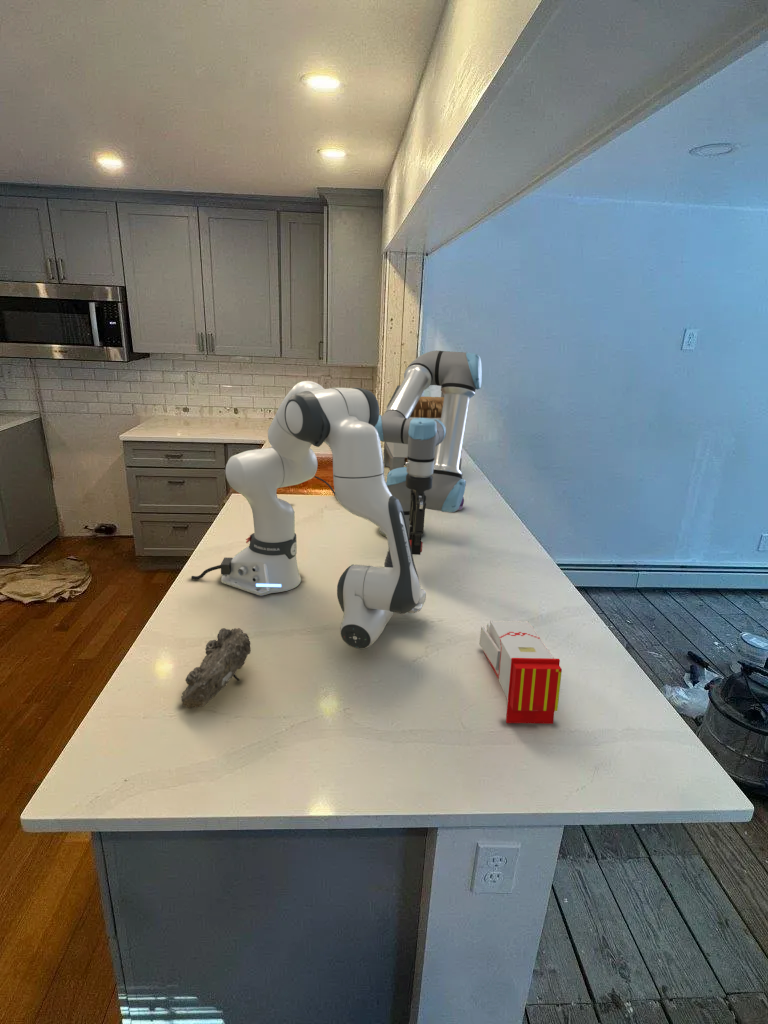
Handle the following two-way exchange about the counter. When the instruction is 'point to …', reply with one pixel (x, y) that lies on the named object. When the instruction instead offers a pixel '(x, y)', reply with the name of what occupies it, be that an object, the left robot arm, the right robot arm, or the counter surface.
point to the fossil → (216, 667)
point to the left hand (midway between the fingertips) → (394, 580)
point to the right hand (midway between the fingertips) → (414, 550)
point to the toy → (523, 670)
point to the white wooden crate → (424, 409)
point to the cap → (421, 544)
